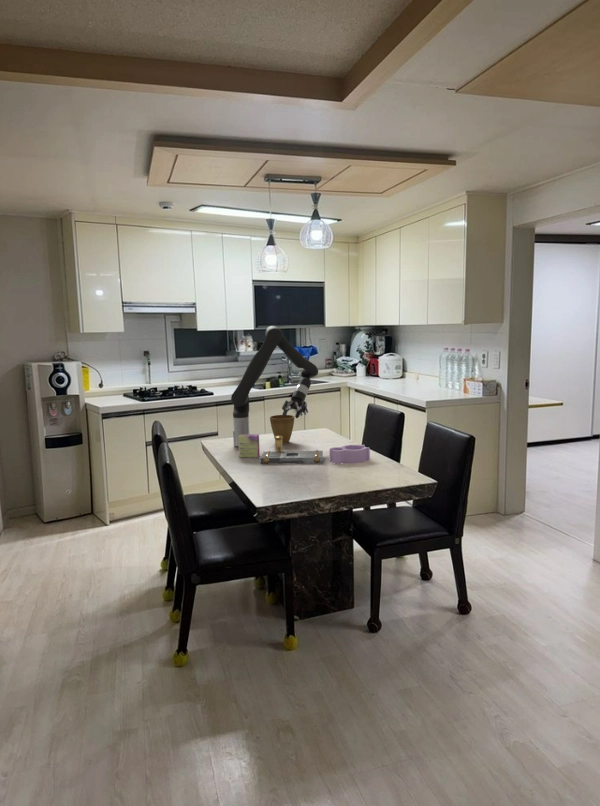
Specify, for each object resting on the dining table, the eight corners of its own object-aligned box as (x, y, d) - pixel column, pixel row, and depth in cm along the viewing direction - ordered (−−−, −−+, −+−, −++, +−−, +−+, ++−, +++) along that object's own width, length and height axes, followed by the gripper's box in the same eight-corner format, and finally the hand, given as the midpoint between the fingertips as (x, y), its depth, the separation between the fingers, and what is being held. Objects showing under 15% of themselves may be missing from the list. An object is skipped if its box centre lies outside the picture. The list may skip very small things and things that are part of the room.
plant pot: (295, 445, 305) (294, 418, 302) (269, 445, 305) (268, 419, 303) (295, 439, 320) (294, 414, 317) (271, 440, 320) (270, 414, 317)
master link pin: (274, 455, 282) (273, 437, 281) (275, 453, 287) (274, 435, 286) (283, 455, 282) (282, 437, 281) (283, 453, 287) (283, 435, 285)
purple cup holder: (335, 466, 260) (335, 452, 259) (327, 459, 272) (326, 447, 270) (372, 462, 265) (371, 448, 264) (362, 456, 277) (362, 443, 276)
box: (259, 454, 285) (259, 433, 283) (258, 457, 279) (257, 436, 277) (241, 455, 286) (240, 434, 284) (239, 457, 280) (238, 436, 278)
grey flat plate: (260, 464, 266) (260, 458, 265) (263, 456, 281) (263, 450, 280) (322, 463, 264) (322, 457, 264) (322, 455, 279) (322, 450, 279)
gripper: (287, 389, 300) (276, 412, 293) (307, 390, 293) (297, 413, 285) (292, 397, 306) (282, 419, 298) (313, 398, 298) (303, 421, 290)
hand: (289, 416), depth 291 cm, fingers open, 8 cm apart
